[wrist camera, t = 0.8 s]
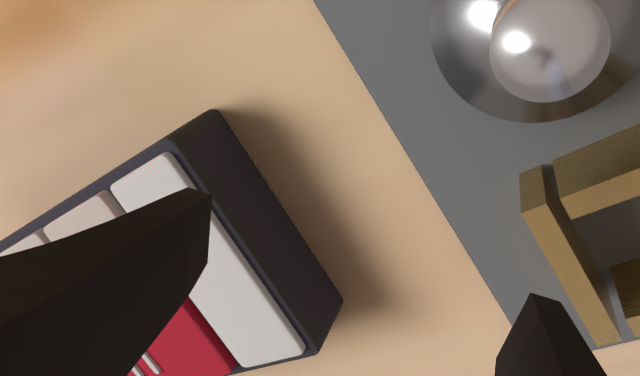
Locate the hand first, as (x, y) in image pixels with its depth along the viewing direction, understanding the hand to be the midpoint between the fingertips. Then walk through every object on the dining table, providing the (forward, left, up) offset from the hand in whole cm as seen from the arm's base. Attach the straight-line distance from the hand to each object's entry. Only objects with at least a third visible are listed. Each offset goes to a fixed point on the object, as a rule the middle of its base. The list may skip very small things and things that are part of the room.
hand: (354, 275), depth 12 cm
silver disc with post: (+2, -5, -9) cm, 11 cm away
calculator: (0, +15, -10) cm, 18 cm away
